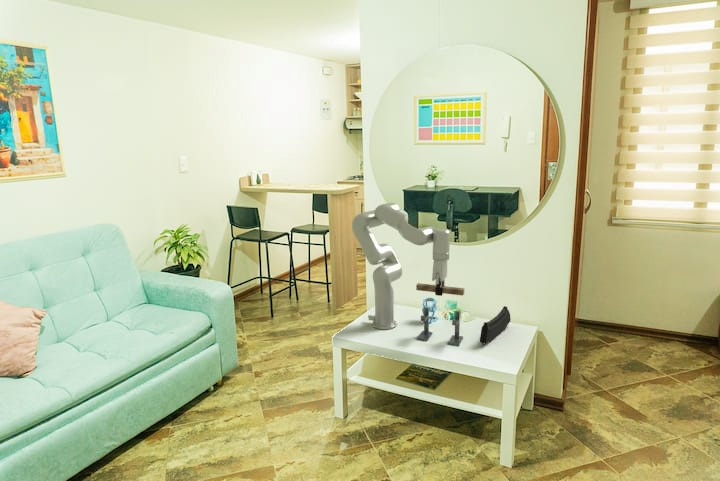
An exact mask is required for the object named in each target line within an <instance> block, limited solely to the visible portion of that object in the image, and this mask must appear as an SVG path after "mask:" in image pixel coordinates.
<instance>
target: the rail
mask: <svg viewBox="0 0 720 481" xmlns="http://www.w3.org/2000/svg"><path fill="white" fill-rule="evenodd" d="M415 287H416V288H415V289H416V291H419V292H420V291H421V292H430V293H435V288H436V284H428V283H419V282H418V283H417V284H416V286H415ZM442 287H443V291H442V294H446V295H454V296H455V295H456V296H464V295H465V288H464V287H454V286H446V285H445V286H442Z"/></svg>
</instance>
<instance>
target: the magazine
mask: <svg viewBox="0 0 720 481" xmlns="http://www.w3.org/2000/svg"><path fill="white" fill-rule="evenodd" d="M510 323H511V313H510V310H509V309H508V306H505V305H504V306H503V307H502V309H501V311H499V313H498V314H497V315H496V316H494V317H493V318H491V319H490V320H489V321H486V322H483V325H482V327H481V330H480V337H479V343H481V344H484V345H486V344H488V343H489V342H491V341H493V340H495V339H496V338H497V337H499V335H501V334H502V333H503V331H504V330H505V329H506V328H507V326H508V325H509V324H510Z"/></svg>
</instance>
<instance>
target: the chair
mask: <svg viewBox="0 0 720 481" xmlns="http://www.w3.org/2000/svg"><path fill="white" fill-rule="evenodd" d="M428 302H432V305H428ZM437 302H438V300H436V299H435V298H433V297H426V298H424V299H423V300H422V309H421V311H422V316H424V308H425V307H429V313H432V315H431V316H430V315H429V325H431V324H433V323H434V322H436V321H438V320H439V317H437V316H434V315H435V313H436V311H437V309H438V306H436V304H437ZM433 318H435V319H433ZM432 322H433V323H432Z"/></svg>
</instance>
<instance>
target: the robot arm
mask: <svg viewBox="0 0 720 481" xmlns="http://www.w3.org/2000/svg"><path fill="white" fill-rule="evenodd" d="M408 222H409V217H408V215H407V214H405V213H404V212H401V209H400V207H399V205H398V204H397V203H394V202H387V203H383V204H382V203H381V204H379V205H378V206H376V208H375V209H374V210H373V209H372V210H369V211H365V212H361V213H358V214H356V215H355V216H354V218H353V219H352V223H351V229H352V234H353V235H354V237H355V238H356V240H357V242H358V243H359V245H360V247H361V250H362V252H363V254H364V256H365V258H366V260H367V263H369V265H371V266H377V265H379V266H378V267H377V268H375V270H373V273H372V280H373V285H374V315H372V314H368V316H367V318H368V320H369V321H372V323H371V324H372V327H373V328H375V329H378V330H391V329H394V328H396V327H397V326H398V325H397V324H398V323H397V321H396V320H395V319H394V316H395V314H394V313H395V312H394V310H395V309H394V305H395V304H394V303H395V302H394V288H393V287H392V283H393V282H395V281H397V280H399V279H400V278H401V277H402V276H403V267H402V265H401V264H400V261H399V259H398V256H397V255H396V253H395V250H394V249H393V248H392V247H391V246H390V245H389V244H388V243H378V241H377V238H376V236H375V235H374V233H372V232H371V231H370V230H369V229H371V228H376V227H379V226H382V225H384V224H385V225H387V226H390V227H391V228H393V229H395V230H396V231H397V232H398V233H399V234H400V236H401V237H402V239H404V240H405V241H407V242H410V243H411V244H414V245H415V246H425V245H427V244H431V243H432V260H433V263H432V264H433V265H432V276H431V279H432V280H431V281H433V282H434V281H435V284H434V285H436V288H435V292H434V293H435V296H440V297H442V296H443V293H442V291H443V287H442V286H446V285H445V284H446V283H445V281H446V280H445V279H446V278H447V276H448V261H449V260H450V245H451V243H450V238H451V237H450V236H451V232H450V230H449V229H447V228H437V227H435V226H431V225H430V226H428V225H427V226H425V227H421V228H417V227H416V226H413V225H411V224H409V223H408ZM381 264H382V265H381Z"/></svg>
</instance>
